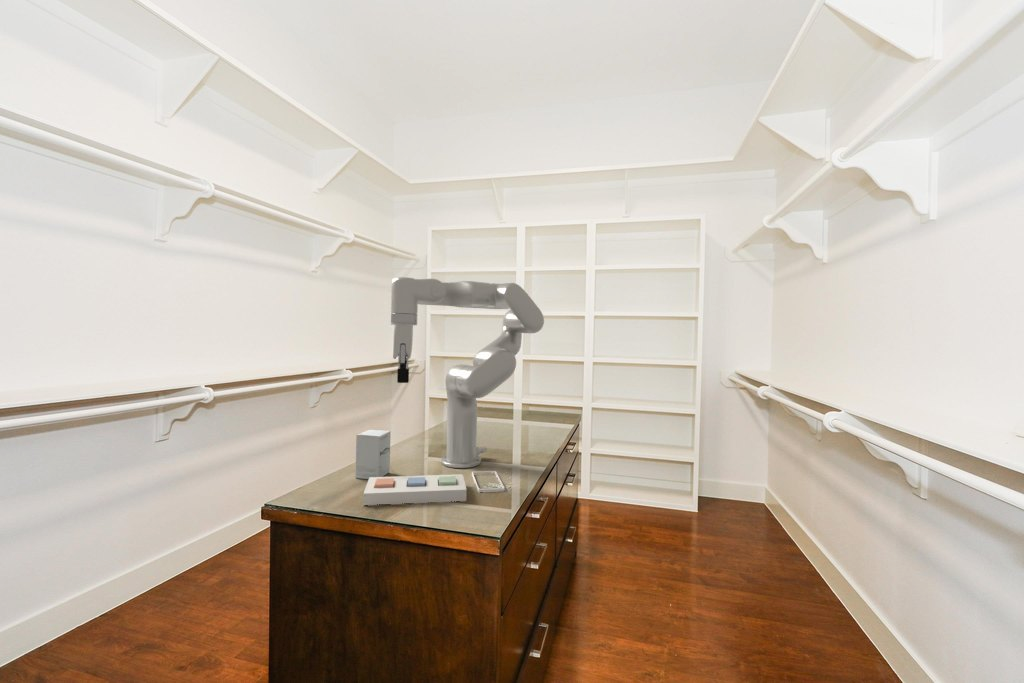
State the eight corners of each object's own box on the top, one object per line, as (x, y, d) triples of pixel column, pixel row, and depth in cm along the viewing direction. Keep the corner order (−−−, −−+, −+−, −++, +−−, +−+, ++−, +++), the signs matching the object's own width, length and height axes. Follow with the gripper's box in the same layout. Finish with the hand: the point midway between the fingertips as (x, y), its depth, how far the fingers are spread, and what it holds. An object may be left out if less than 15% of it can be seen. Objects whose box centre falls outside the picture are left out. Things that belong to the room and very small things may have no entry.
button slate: (424, 489, 124) (425, 477, 124) (424, 495, 120) (425, 482, 120) (407, 489, 123) (408, 477, 123) (407, 495, 119) (407, 483, 119)
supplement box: (378, 480, 131) (379, 436, 131) (354, 478, 133) (355, 434, 132) (390, 472, 139) (391, 430, 138) (367, 470, 140) (368, 428, 140)
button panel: (462, 484, 130) (462, 474, 130) (466, 501, 118) (466, 489, 118) (369, 488, 125) (369, 477, 125) (363, 505, 113) (363, 493, 113)
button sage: (455, 487, 126) (455, 476, 125) (456, 493, 121) (456, 481, 121) (438, 488, 125) (438, 476, 125) (439, 494, 120) (439, 482, 120)
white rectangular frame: (505, 493, 126) (495, 475, 140) (505, 488, 126) (495, 470, 140) (477, 494, 124) (471, 476, 139) (478, 489, 124) (471, 471, 139)
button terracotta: (394, 490, 123) (394, 478, 122) (392, 496, 118) (393, 484, 118) (376, 490, 122) (376, 478, 122) (374, 497, 117) (375, 484, 117)
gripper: (392, 319, 143) (391, 379, 144) (389, 319, 128) (387, 385, 129) (417, 320, 144) (416, 379, 145) (416, 320, 130) (415, 386, 130)
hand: (403, 382), depth 137 cm, fingers closed
